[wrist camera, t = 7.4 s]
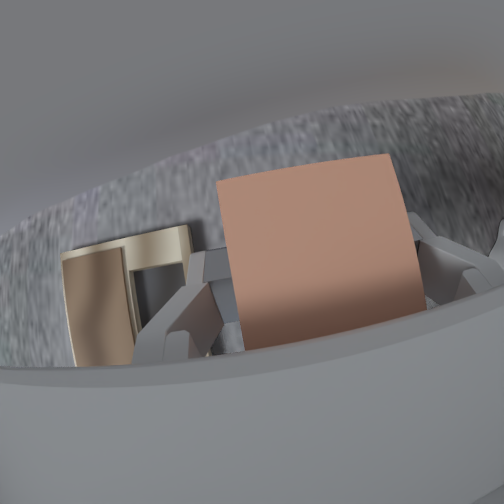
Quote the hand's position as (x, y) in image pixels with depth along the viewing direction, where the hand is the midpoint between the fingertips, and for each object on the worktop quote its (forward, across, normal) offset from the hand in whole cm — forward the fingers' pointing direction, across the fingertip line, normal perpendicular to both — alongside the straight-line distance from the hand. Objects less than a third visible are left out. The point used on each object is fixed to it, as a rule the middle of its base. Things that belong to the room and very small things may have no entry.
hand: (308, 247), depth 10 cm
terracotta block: (+6, 0, +7) cm, 9 cm away
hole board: (+14, +17, +16) cm, 27 cm away
